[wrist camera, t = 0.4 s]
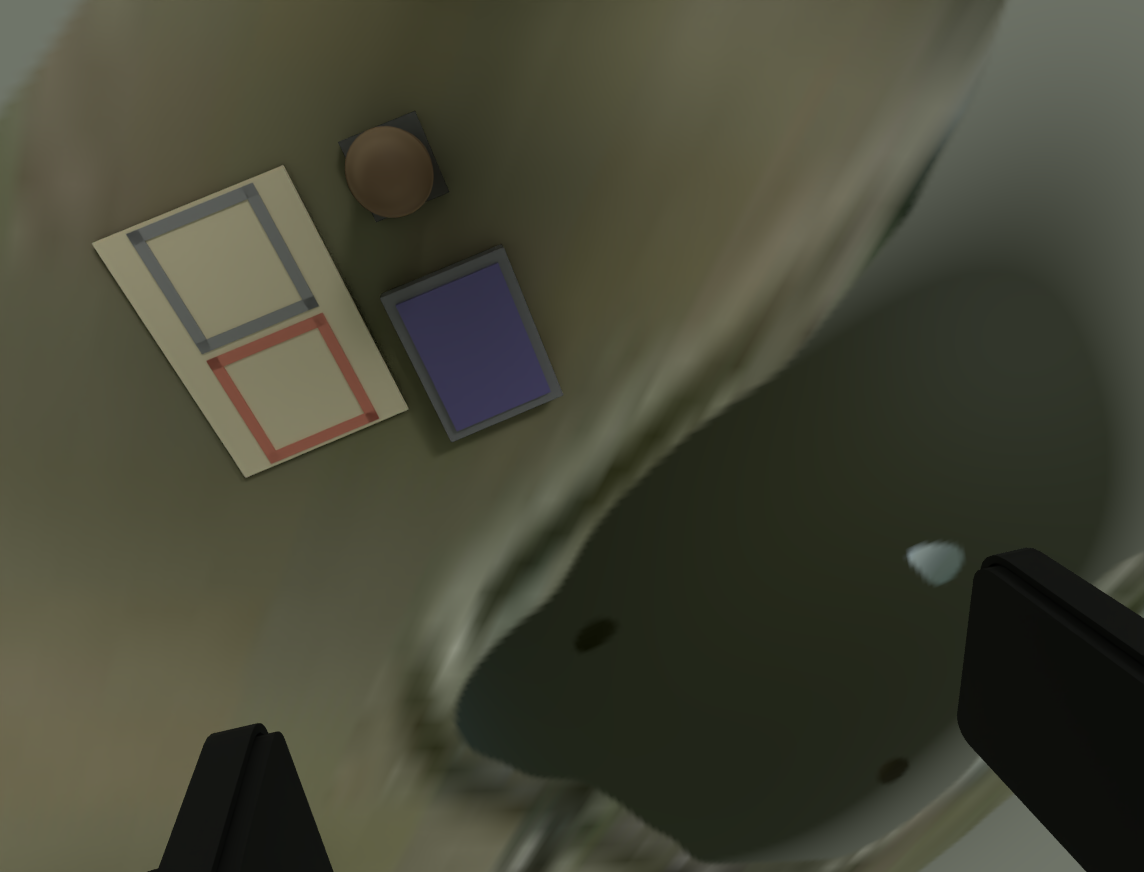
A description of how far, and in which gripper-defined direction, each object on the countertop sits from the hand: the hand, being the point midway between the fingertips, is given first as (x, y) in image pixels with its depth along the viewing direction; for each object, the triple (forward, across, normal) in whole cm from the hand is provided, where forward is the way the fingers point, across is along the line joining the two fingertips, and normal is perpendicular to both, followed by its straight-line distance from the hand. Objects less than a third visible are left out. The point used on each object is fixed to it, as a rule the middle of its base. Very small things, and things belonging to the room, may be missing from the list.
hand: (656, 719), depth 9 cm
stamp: (+33, +3, -7) cm, 34 cm away
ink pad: (+33, +1, +3) cm, 33 cm away
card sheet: (+33, +12, +1) cm, 35 cm away
